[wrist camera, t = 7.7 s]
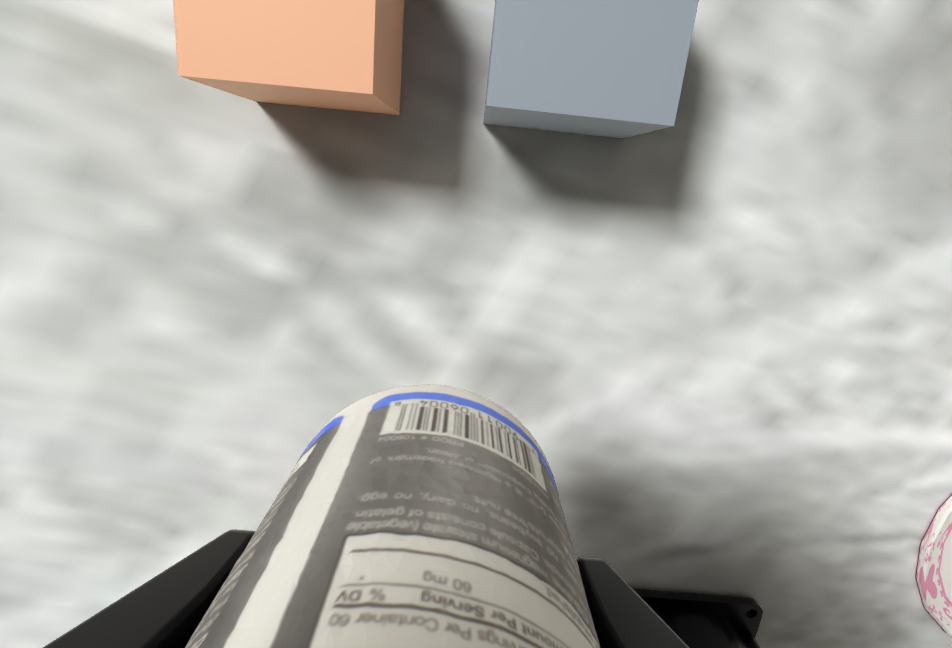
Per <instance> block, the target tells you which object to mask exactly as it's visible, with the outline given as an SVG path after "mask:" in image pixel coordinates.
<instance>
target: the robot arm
mask: <svg viewBox="0 0 952 648" xmlns="http://www.w3.org/2000/svg"><path fill="white" fill-rule="evenodd" d="M254 534H255V531H247V530H229V531H227V532H225V533H224V534H222V535H221V536H219V537H217V538H216V539H214V540H213V541H211V542H209V543H208V544H206V545H205V546H203V547H202V548H200V549H198V550H197V551H195V552H194V553H192V554H190V555H189V556H187V557H186V558H184V559H183V560H181V561H179V562H178V563H176V564H175V565H173V566H171V567H170V568H168V569H167V570H165V571H164V572H162V573H160V574H159V575H157V576H156V577H154V578H152V579H151V580H149V581H148V582H146V583H145V584H143V585H141V586H140V587H138V588H137V589H135V590H133V591H132V592H130V593H129V594H127V595H125V596H124V597H122V598H121V599H119V600H118V601H116V602H114V603H113V604H111V605H110V606H108V607H106V608H105V609H103V610H102V611H100V612H99V613H97V614H95V615H94V616H92V617H91V618H89V619H87V620H86V621H84V622H83V623H81V624H80V625H78V626H76V627H75V628H73V629H72V630H70V631H68V632H67V633H65V634H64V635H62V636H61V637H59V638H57V639H56V640H54V641H53V642H51V643H49V644H48V645H46V646H45V647H43V648H185V647H186V645H187V643H188V642H189V640H190V638H191V637H192V635H193V633H194V632H195V630H196V628H197V627H198V625H199V623H200V622H201V620H202V618H203V617H204V615H205V613H206V612H207V610H208V608H209V607H210V605H211V604H212V602H213V600H214V599H215V597H216V595H217V594H218V592H219V590H220V588H221V587H222V585H223V584H224V582H225V581H226V579H227V577H228V576H229V574H230V572H231V570H232V569H233V567H234V565H235V563H236V561H237V560H238V559H239V557H240V556H241V555H242V553H243V552H244V550H245V549H246V547H247V545H248V543H249V542H250V540H251V538H252V537H253V535H254ZM577 563H578V567H579V571H580V575H581V579H582V583H583V587H584V591H585V595H586V599H587V603H588V606H589V609H590V613H591V616H592V619H593V624H594V628H595V630H596V634H597V637H598V640H599V644H600V648H760V647H759V645H758V643H757V642H756V640H755V636H756V633H757V630H758V627H759V623H760V620H761V617H762V612H763V611H762V609H761V607H760V606H759V604H758V603H757V601H756V600H754V599H752V598H744V597H731V596H717V595H704V594H691V593H678V592H664V591H651V590H638V589H632V588H631V587H630V586H629V585H628V584H627V583H626V582H625V580H624V579H623V578H622V577H621V576H620V575H619V574H618V573H617V572H616V571H615V570H614V569H613V568H612V567H611V566H610V565H609V564H608V563H607V562H606V561H605V560H603V559H600V558H589V557H579V558H578V559H577ZM750 609H751V610H750ZM748 610H749V611H748Z"/></svg>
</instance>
